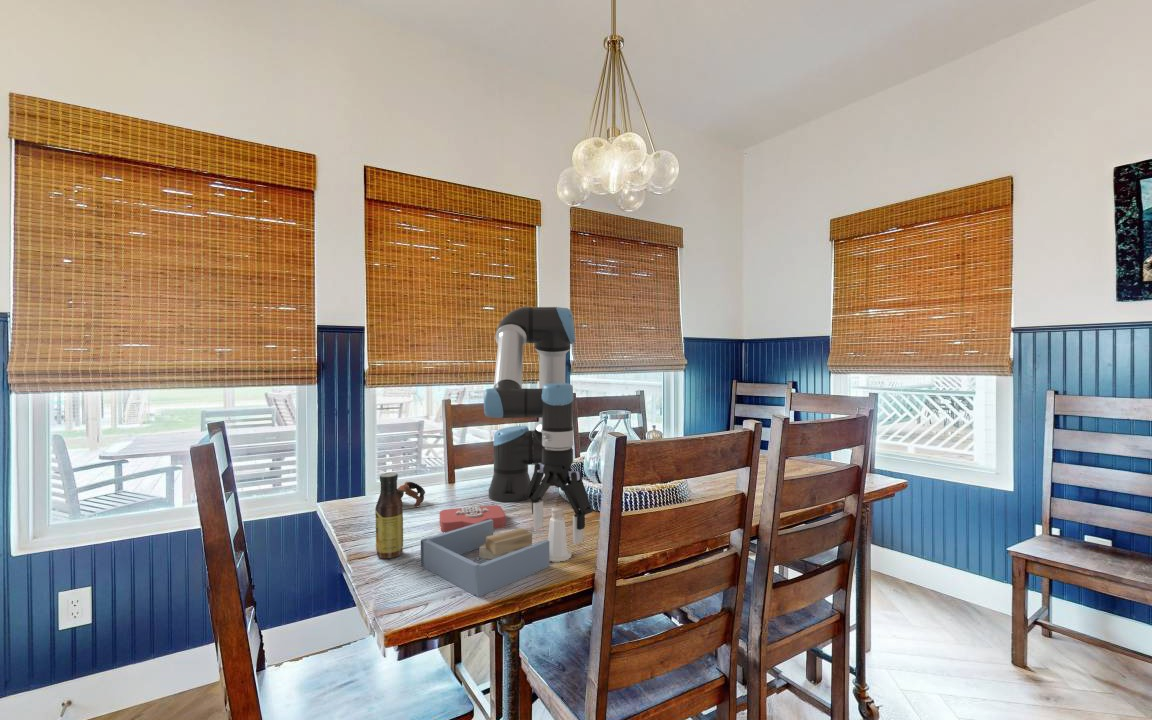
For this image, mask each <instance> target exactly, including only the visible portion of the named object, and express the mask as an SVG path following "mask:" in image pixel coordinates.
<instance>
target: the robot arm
mask: <svg viewBox="0 0 1152 720" xmlns="http://www.w3.org/2000/svg"><path fill="white" fill-rule="evenodd" d="M573 318H574V317H573V313H572V310H571V309H570V308H568V307H560V306H535V307H534V306H522V307H519V308H515V309H514V310H512V311H509V313H507V314H506V315H505V316H504V317H503V318H502V319H501V320H500V322H499V323H498V325H497V328H496V330H495V336H494V337H495V343H496V345H497V351H496V359H495V368H494V369H495V371H494V378H493V387H492V388H486V389H485V390H484V394H483V411H484V412H483V413H484V415H485V417H487V418H494V419H495V418H496V419H497V418H498V419H511V418H513V419H516V418H517V419H518V418H519V419H520V418H533V419H534V418H538V422H537V423H535V425H534V430H530V429H529V427H528V426H527V425H513V426H507V427H504V428H500V429H498V430H496V432H494V435H493V443H492V444H493V445H492V446H493V475H492V477H491V478H492V479H491V482H490V484H489V485H490V486H489V487H488V498H489V499H490V500H493V501H498V502H520V501H526V500H528V499H529V500H530V502H531V514H532V530H539V529H541V528H543V527H544V500H543V497H544V495H545V494H546V493H547V491H548V490H549V488H550V487H551V486H552V487H555V488H558V489H560V490H561V491H562V492H563V493H564V494H565V497H566V499H567V500H568V502H569V504H570V506H571V508H572V510H573V512H574V514H572V544H574V545H576V544H579V543H582V542H583V541H584V529H585V527H586V524H585V523H586V515H588V514H591V513H592V512H593V509H592V505H591V502H590V499H589V496H588V494H587V490H586V488H585V484H584V482H583V472H582V471H581V470H578V471H573V470H572V464H573V463H574V449H573V446H574V423H573V422H574V399H575V396H574V387H573V385H572V384H571V383H566V360H567V357H566V356H567V353H568V352H569V351H570V350H571V345H573V344H575V343H576V334H575V325H574V319H573ZM526 344H534V350H535V351H536V352H537V353H538V355H539V356H538V357H539V366H538V367H539V369H538V370H539V372H538V373H539V376H538V377H539V379H538V384H539V386H538V388H525V387H524V388H522V387H523V366H524V365H523V363H524V356H523V355H524V346H525V345H526ZM533 465H534V468H533V469H534V470H533V474H532V477H530V475H529V466H533Z"/></svg>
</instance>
